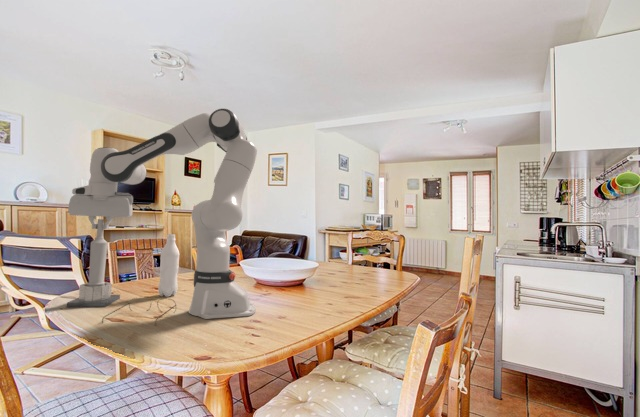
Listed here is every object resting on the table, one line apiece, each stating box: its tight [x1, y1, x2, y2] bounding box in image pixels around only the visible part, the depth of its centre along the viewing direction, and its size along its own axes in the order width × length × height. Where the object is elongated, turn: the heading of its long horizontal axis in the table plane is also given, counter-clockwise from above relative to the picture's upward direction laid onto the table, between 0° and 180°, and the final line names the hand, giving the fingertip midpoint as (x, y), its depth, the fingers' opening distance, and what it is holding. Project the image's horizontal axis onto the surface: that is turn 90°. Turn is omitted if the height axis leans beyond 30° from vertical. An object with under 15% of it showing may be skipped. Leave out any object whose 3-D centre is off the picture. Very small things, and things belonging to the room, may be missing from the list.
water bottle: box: [157, 233, 181, 298], centre depth 133 cm, size 7×7×25 cm
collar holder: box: [66, 281, 121, 308], centre depth 117 cm, size 12×12×6 cm
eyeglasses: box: [101, 297, 177, 327], centre depth 103 cm, size 16×15×5 cm
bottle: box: [87, 218, 108, 287], centre depth 118 cm, size 5×5×25 cm
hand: (100, 229), depth 118 cm, fingers closed on bottle, 2 cm apart
